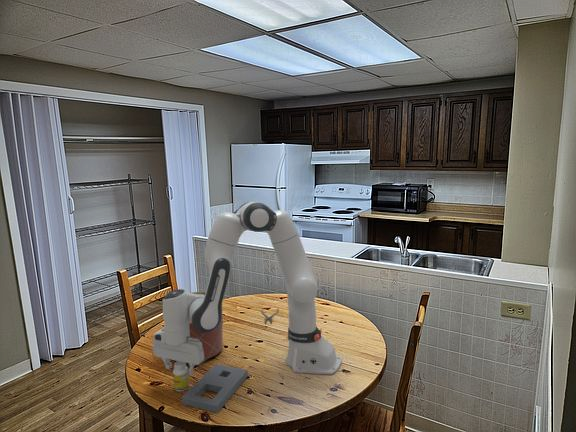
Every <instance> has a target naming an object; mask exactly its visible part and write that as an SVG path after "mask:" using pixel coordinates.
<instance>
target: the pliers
mask: <svg viewBox="0 0 576 432" xmlns="http://www.w3.org/2000/svg"><path fill="white" fill-rule="evenodd" d="M260 313H261V315H263V316H264V317H265V319H264V322H263V323H264V324H265V325H266V324H267V323H268V321H269V322H270V323H269V324H270V325H271V324H272V323H273V322H274V321H273V317H275V316H276V315H277V314H278V313H279V308H277V309H276V312H275V313H273V314H271V316H268V315H267V314H265V313H264V308H262V309H261V312H260Z"/></svg>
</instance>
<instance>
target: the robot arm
mask: <svg viewBox="0 0 576 432" xmlns="http://www.w3.org/2000/svg"><path fill="white" fill-rule="evenodd" d="M245 231H250V232H254V233H261V232H266V233H267V235H268V236H269V240H270V242H271V245H272V248H273V250H274V253H275V256H276V259H277V261H278V264H279V266H280V269H281V272H282V274H283V277H284V279H285V282H286V293H287V306H288V328H287V339H288V349H287V354H286V355H287V356H286V359H285V362H286V364H287V365H288V366H289V367H290V368H291V369H292V371H293V372H294V373H298V374H300V373H301V374H315V375H330V376H331V375H334V374H335V373H337V372H338V371H339V370H340V368H341V366H342V357H341V355H339V354H337V353H336V349H335V346H334V344H332V343H331V342H329V341H328V340H327V339H326V338H324V337H323V336H322V327H320V328H318V326H317V309H316V308H317V307H316V300H315V298H316V297H317V295H318V291H319V289H318V287H319V286H318V281H317V280H316V279H317V278H316V276H315V274H314V271H313V269H312V266H311V264H310V263H311V262H310V260H309V259H308V256H307V254H306V251H305V248H304V246H303V243H302V240H301V238H300V234H299V232H298V229H297V227H296V224H295V223H294V221H293V219H292V217H291V216H290V214H289V213H288V212H287V211H286V210H282V209H278V210H272V209H271V208H270V207H269V206H268V205H266V204H265V203H262V202H259V201H248V202H245V203H243V204H242V205H240V206H239V207H238V209H236V210H235V211H234V212H229V211H225V212H221V213H220V214H219V215H218V216H217V218H215V221H214V222H213V225H212V226H211V229H210V232H209V235H208V237H207V240H206V244H205V248H204V250H205V251H204V257H205V260H206V263H207V267H208V271H209V272H208V273H209V279H208V283H207V286H206V290H205V292H206V293H205V295H204V294H193V293H192V292H188V291H186V290H185V289H182V288H181V289H179V288H178V289H174V290H171V291H169V292H167V293H166V294H165V295H164V298H163V299H162V319H163V322H164V326H163V327H162V328H160V329H158V330H157V331H156V332H154V333H153V334H152V339H153V341H152V353H153V355H154V356H155V357H158V358H161V359H162V362H163V363H164V364H165V369H166V370H170V369H171V368H172V367H173V362H171V361H170V360H173V361H176V362H177V361H181V362H185V363H186V364H188V366H189V367H188V369H187V373H189V375H191V374H193V373H194V367H195V366H199V365H201V364H202V363H201V362H202V361H203V360H204V351H203V346H202V342H201V341H200V340H199V339H198V338H193V337H190V328H189V324H190V323H192V324H193V327H194V329H195V330H196V331H198V332H200V333H210V332H212V331H214V330H215V329H217V328H218V326H219V325H220V323H221V320H222V316H223V310H222V311H221V306H222V307H223V299H224V296H225V293H226V288H227V284H228V281H229V277H230V276H229V275H230V271H231V267H232V262H233V260H234V256H235V254H236V250H237V249H238V248H237V247H238V244H239V241H240V238H241V236H242V234H244V233H245Z"/></svg>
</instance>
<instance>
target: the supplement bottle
mask: <svg viewBox="0 0 576 432" xmlns="http://www.w3.org/2000/svg"><path fill="white" fill-rule="evenodd" d="M173 367H174V368H173V371H172V375H173V376H172V377H173V387H174V388H173V389H174V390H175V391H176V392H184V390H185V391H186V390H188V389H189V388H190V376H189V375H190V374H189V373H187V369H188V368H189V367H188V366H187V363H185V362H181V361H176V362H174V366H173Z"/></svg>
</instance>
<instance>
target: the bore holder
mask: <svg viewBox="0 0 576 432" xmlns="http://www.w3.org/2000/svg"><path fill="white" fill-rule="evenodd" d="M248 374H249V371H248V369H244V368H240V367H234V366H230V365H223V364H218V363H215V364H214V365H213V366H212V367H211V368H210V370H208V371H207V372H206V373H205V374H204V375H203V376H202V377H201V378H200V379H199V380H198V381H197V382H196V383H195V384H194V385H193V386H191V388H190V389H189V390H188V391H187V392H186V393H185V394H184V395H182V396H181V404H182V405H183V404H184V406H187V405H189V406H188V407H191V406H193V407H192V408H195V407H197V408H196V409H199V408H200V409H199V410H203V409H205V410H204V411H207V410H208V411H209V412H212V413H216V412H217V413H216V414H219V412H220V411H221V410H222V408H223V407H224V406H225V405H226V403H227V402H228V401H229V400H230V399H231V397H232V396H233V395H234V394H235V393H236V391H238V389H239V387H240V386H241V385H242V384H243V383H244V381H246V379H247V378H248V376H249V375H248ZM206 391H209V392H214V393H216V394H215V396H214V397H213V398H212V399H211V398H210V397H209V398H208V397H204V396H202V395H203V394H204V393H205V392H206ZM220 409H221V410H220Z"/></svg>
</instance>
